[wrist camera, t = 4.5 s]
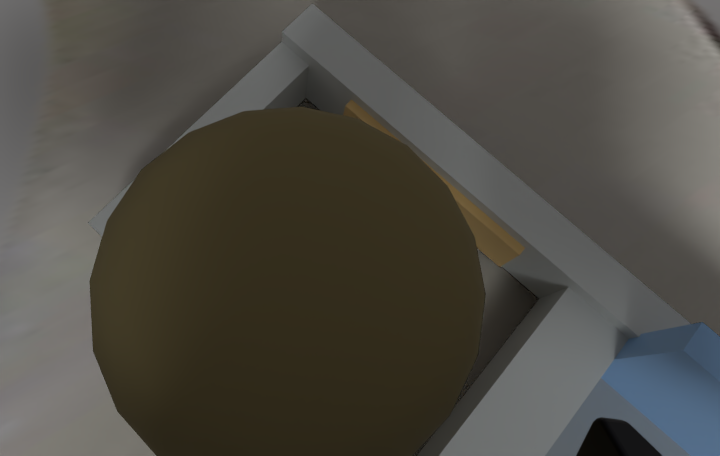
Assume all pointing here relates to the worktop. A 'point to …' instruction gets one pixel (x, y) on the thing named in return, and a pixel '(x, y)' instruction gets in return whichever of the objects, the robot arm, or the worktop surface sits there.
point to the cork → (286, 292)
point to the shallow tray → (524, 262)
